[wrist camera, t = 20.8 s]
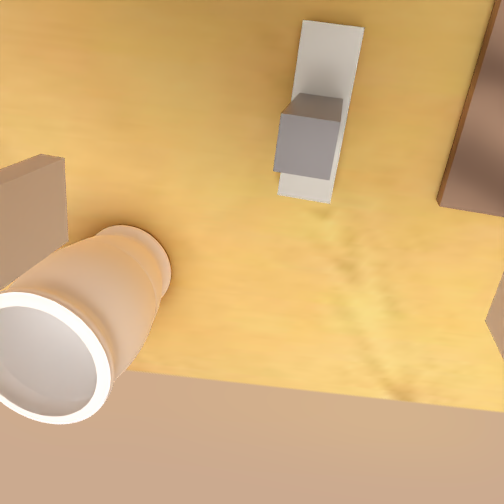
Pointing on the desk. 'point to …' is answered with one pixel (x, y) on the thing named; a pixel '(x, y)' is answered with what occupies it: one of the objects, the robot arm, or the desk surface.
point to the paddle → (317, 110)
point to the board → (480, 133)
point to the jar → (79, 323)
